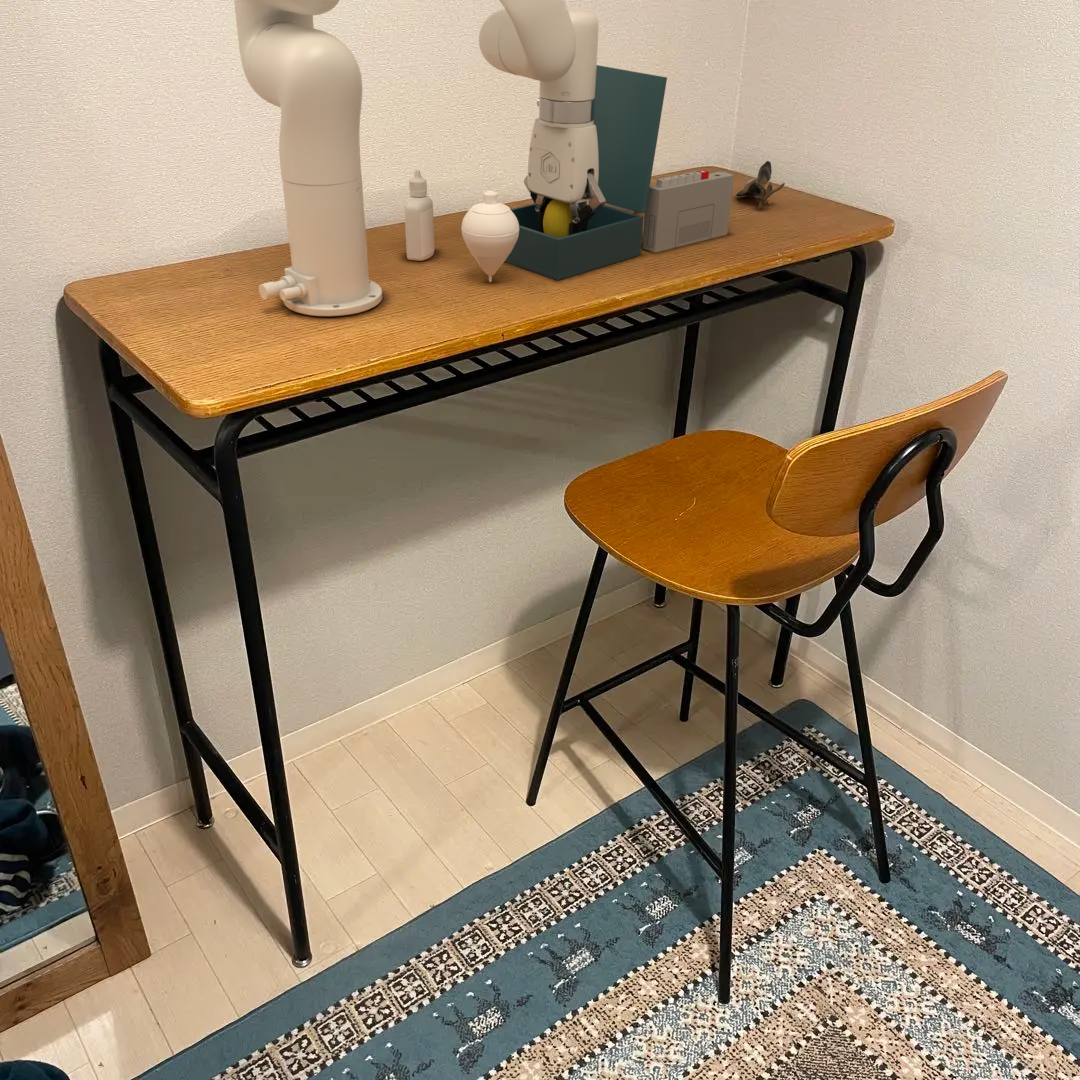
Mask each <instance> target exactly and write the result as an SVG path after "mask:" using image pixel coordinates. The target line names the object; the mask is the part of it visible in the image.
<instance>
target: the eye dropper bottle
mask: <svg viewBox="0 0 1080 1080" xmlns="http://www.w3.org/2000/svg"><path fill="white" fill-rule="evenodd" d="M427 183H428V182H427V179H426V178H423V177H422V173H421V170H420V169H414V173H413V177H412V178H410V179H409V180H408V188H409V189H408V190H409V197H408V198H407V199H406V201H405V204H404V224H405V225H404V227H405V229H404V230H405V248H406V250H405V251H406V258H407V260H409V261H415V262H424V261H425V260H428V259H430V258H432V256H434V254H435V249H436V248H435V225H434V222H435V221H434V205H433V204H434V203H433V202H434V201H433V200H432V198H431V197H430V196H428V184H427Z"/></svg>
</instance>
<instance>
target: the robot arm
mask: <svg viewBox="0 0 1080 1080" xmlns="http://www.w3.org/2000/svg"><path fill="white" fill-rule="evenodd" d="M340 1H341V0H233V4H234V12H235V21H236V31H237V37H238V38H237V40H238V49H239V55H240V56H239V57H240V61H241V66H242V69H243V73H244V76H245V78H246V80H247V82H248V84H249V86H250V88H251V89H252V90H253V91H254V92H255V94H257V95H258V96H259V97H260V98H261V99H263V100H264V101H265V102H268V103H269V104H271V105H273V106H275V107H278V108H280V113H281V114H280V125H279V140H278V153H279V154H278V155H279V167H280V176H281V180H282V181H281V182H282V190H283V198H284V199H283V201H284V207H285V216H286V217H285V218H286V225H287V235H288V245H289V252H290V254H289V255H290V262H291V263H290V264H291V266H289V267H285V268H284V269H283V270H284V276H281V277H280V278H279V280H275V281H272V280H271V281H268V282H265V283H261V284H259V285H258V293H259V296H260V298H261V299H262V300H264V301H267V300H270V299H274V298H277V297H279V298H280V300H282V301H283V305H284V306H285V307H287V308H288V309H289V310H290V311H293V312H295V313H299V314H302V315H307V316H313V317H341V316H350V315H355V314H359V313H363V312H366V311H369V310H371V309H373V308H376V306H378V305H379V304H380V303H381V301H382V300H383V289H382V287H381V286H380V285H379V284H378V283H377V282H375V281H373V280H370V274H369V273H370V272H369V271H370V270H369V258H368V244H367V243H368V242H367V231H366V217H365V215H366V214H365V203H364V201H365V200H364V188H363V174H362V164H361V141H360V133H361V132H360V131H361V130H360V129H361V127H360V126H361V113H362V112H361V111H362V104H363V103H362V102H363V78H362V74H361V69H360V66H359V63H358V61H357V59H356V57H355V55H354V54H353V52H352V51H351V49H350V48H349V47H348V46H347V44H346V43H344V42H343V41H342V40H341V39H339V38H338V37H336V36H335V35H333V34H331V33H329V32H326V31H324V30H321V29H317V28H315V27H314V16H319V15H323V14H326V13H328V12H330V11H331V10H333V9H334V8H335V7H336V6H337V5H338V4H339V2H340ZM499 2H500V3H501V5H502V7H503V9H500V10H497V11H495V12H493V13H491V14H490V15H489V16H488V17H487V18H486V19H485V20H484V22H483V23H482V25H481V27H480V30H479V35H478V46H479V49H480V50H479V51H480V52H481V55H482V57H483V58H484V59H485V61H486V62H487V63H488V64H489V65H490V66H492V67H493V68H495V69H496V70H498V71H501V72H503V73H508V74H511V75H515V76H521V77H524V78H528V79H531V80H535V81H539V95H538V97H537V99H536V105H537V107H538V117H536V118H535V119H534V122H533V125H532V130H531V136H530V143H529V149H528V161H527V175H526V176H525V178H524V179H523V184H524V186H525V187H526V189H527V191H528V193H529V195H530V198H531V200H532V201H533V204H534V203H535V211H536V212H538V228H537V231H538V232H541V233H544V230H543V218H544V213H545V210H546V207H547V205H548V204H549V203H550V202H551V201H552V200H553V199H555V200H558V201H562V202H565V203H569V204H570V210H571V215H572V220H573V222H571V223H569V235H572V234H576V233H580V232H583V231H587V225H588V221H590V220H591V219H592V216H593V215H594V214H595V213H596V212H597V210H599V209H600V208H601V207H602V206H603V205H604V204H605V202H606V200H605V198H604V196H603V194H602V192H601V190H600V188H599V186H598V176H599V154H598V139H597V130H596V125H594V107H595V85H596V67H597V65H598V46H599V20H598V17H597V15H596V14H595V13H594V12H592V11H590V10H586V9H579V8H568V6H567V4H566V1H565V0H499ZM589 201H590V203H589ZM579 203H581V207H582V210H581V211H579V205H578V204H579Z"/></svg>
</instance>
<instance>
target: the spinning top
mask: <svg viewBox="0 0 1080 1080" xmlns="http://www.w3.org/2000/svg"><path fill="white" fill-rule="evenodd" d="M482 196H483V198H482V199H483V201H481V202H478V203H475V204H474V205H472V206H471V207H470V209H469V210H468V211H467V212H466V213H465V215H464V217H463V218H462V221H461V227H460V229H461V236H462V239H463V241H464V243H465V245H466V248H467V249H468V251H469V253H470V254H471V256H472V257H473V259H474V261H475V262H476V263H477V264H478V266H479V267H480V268H481V270H482V272H484V273H485V275H487V276H488V282H489V283H492V281H493V280H492V279H493V276H494V275H495V274H496V273H497V271H499V269H500V268H501V267H502V265H503V264H504V263H505V260H506V259H507V257H508V256H509V254H510V253H511V251H512V249H513V247H514V246H515V243H516V241H517V239H518V236H519V223H518V220H517V218H516V216H515V215H514V213H513V212H512V211H511V210H510V209H511V208H510V207H509V206H508V205H507V204H504V203H501V202H498V196H499V193H498V191H495V190H485V191H484V192H482Z"/></svg>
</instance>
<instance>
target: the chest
mask: <svg viewBox="0 0 1080 1080" xmlns="http://www.w3.org/2000/svg"><path fill="white" fill-rule="evenodd" d="M590 201H591V200H589V203H590ZM578 205H579V209H580V211H581V210H582V207H581V203H579V204H578ZM510 210H511V211H512V212H513V213H514V215H515V216H516V218H517V220H518V223H519V236H518V239H517V241H516V243H515V246H514V247H513V249H512V251H511V253H510V254H509V256H508V257H507V259H506V260H505V261H504V263H508V264H510V265H514V266H517V267H519V268H522V269H525V270H527V271H530V272H532V273H533V272H534V273H537V274H539V275H542V276H545V277H548V278H550V279H553V280H556V281H560V280H561V281H562V280H564V279H567V278H570V277H574V276H577V275H580V274H583V273H586V272H589V271H593V270H596V269H600V268H603V267H606V266H609V265H613V264H616V263H619V262H622V261H625V260H628V259H632V258H635V257H638V256H641V255H642V243H643V230H644V216H643V215H640V214H635V213H629V212H626V211H622V210H619V209H615V208H612V207H608V206H605V205H603V206H602V207H601V208H600V209H599V210H597V212H596V213H595V214H594V215H593V216H592V219H591V220H590V221H588V225H587V231H583V232H580V233H576V234H572V235H569V236H565V237H562V238H557V237H554V236H551V235H548V234H544V233H541V232H538V231H537V228H538V212H536V211H535V203H534V202H533V203H530V204H526V205H522V206H518V207H514V208H510Z"/></svg>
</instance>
